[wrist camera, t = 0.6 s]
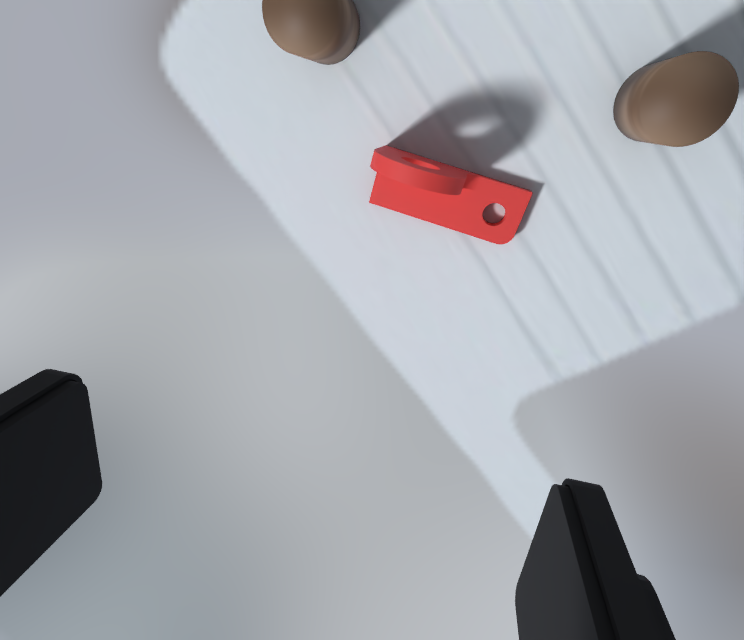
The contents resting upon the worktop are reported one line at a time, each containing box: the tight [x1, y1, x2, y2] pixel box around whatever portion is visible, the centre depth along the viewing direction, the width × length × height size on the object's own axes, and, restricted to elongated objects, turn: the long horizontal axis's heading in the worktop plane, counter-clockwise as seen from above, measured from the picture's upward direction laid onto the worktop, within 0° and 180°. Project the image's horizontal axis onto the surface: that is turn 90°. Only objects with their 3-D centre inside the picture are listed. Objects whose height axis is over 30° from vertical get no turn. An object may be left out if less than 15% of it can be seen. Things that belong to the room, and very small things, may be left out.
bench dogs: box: [262, 0, 739, 147], centre depth 30 cm, size 5×29×6 cm, turn 77°
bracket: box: [369, 145, 532, 244], centre depth 34 cm, size 12×4×8 cm, turn 75°
